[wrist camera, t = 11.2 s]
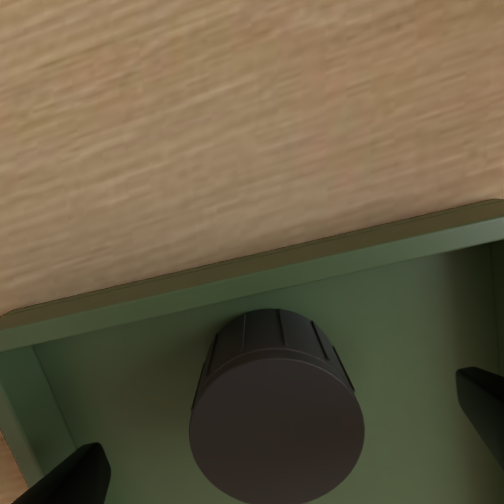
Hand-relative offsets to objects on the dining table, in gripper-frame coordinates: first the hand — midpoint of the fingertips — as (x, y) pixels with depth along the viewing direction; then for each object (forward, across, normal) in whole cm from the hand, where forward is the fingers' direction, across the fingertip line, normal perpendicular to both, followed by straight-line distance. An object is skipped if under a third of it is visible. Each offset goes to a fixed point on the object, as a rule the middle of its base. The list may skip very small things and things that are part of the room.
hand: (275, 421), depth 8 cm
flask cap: (0, 0, 0) cm, 0 cm away
